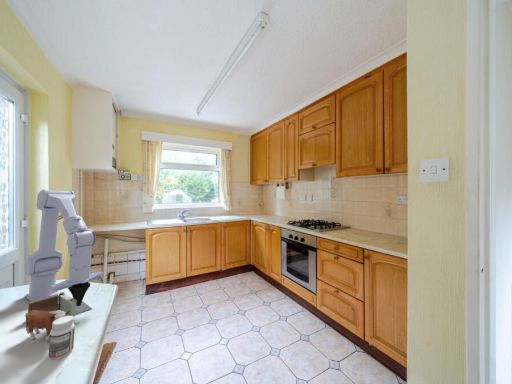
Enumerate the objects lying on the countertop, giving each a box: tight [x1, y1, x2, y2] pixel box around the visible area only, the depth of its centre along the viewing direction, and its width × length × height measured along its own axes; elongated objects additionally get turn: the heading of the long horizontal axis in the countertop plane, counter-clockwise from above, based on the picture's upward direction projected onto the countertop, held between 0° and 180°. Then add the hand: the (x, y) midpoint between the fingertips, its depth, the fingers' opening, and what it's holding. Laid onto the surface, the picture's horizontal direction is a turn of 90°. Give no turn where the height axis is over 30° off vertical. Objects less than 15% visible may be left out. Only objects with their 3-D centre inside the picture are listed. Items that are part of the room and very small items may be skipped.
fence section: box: [27, 291, 66, 314], centre depth 69 cm, size 1×9×6 cm, turn 147°
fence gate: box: [60, 293, 77, 317], centre depth 70 cm, size 9×1×5 cm, turn 61°
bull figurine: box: [25, 310, 71, 342], centre depth 58 cm, size 4×13×8 cm, turn 79°
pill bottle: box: [48, 316, 76, 360], centre depth 53 cm, size 5×5×8 cm
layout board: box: [25, 300, 92, 316], centre depth 71 cm, size 14×14×1 cm
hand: (77, 305), depth 70 cm, fingers closed
